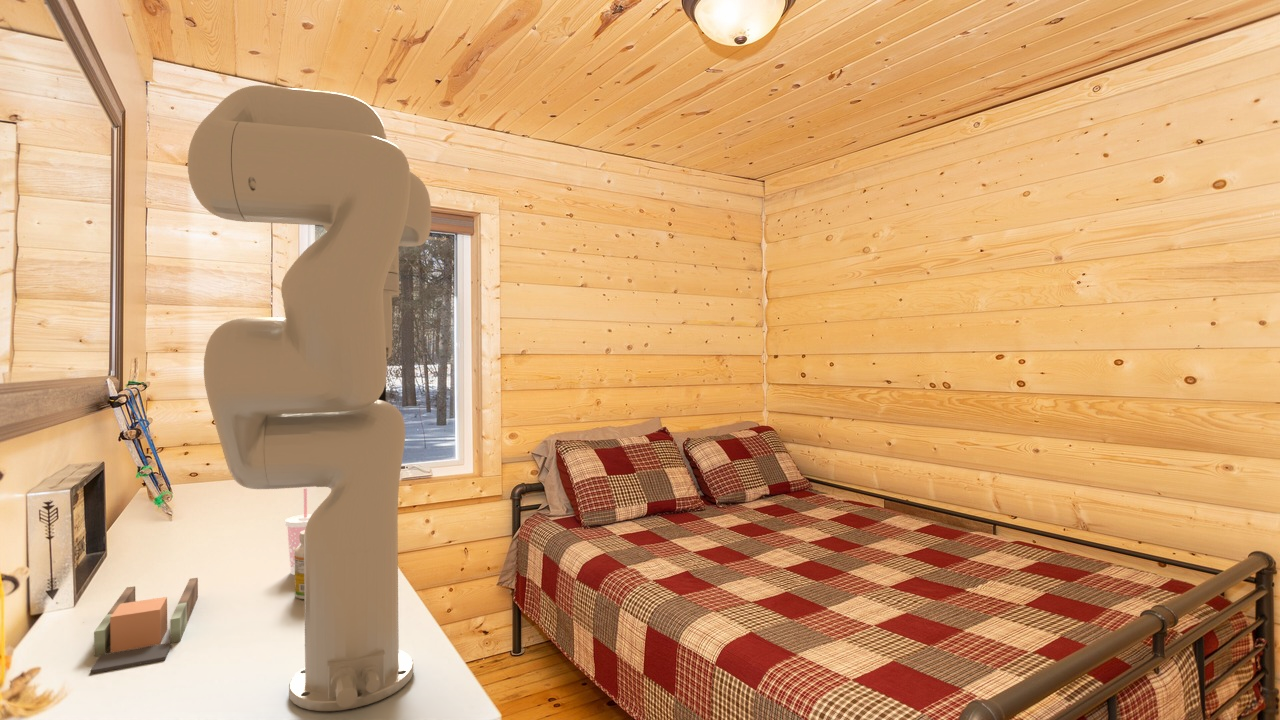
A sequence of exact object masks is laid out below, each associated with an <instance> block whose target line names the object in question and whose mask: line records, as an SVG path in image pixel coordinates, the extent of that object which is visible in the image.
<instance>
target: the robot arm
mask: <svg viewBox="0 0 1280 720" xmlns="http://www.w3.org/2000/svg"><path fill="white" fill-rule="evenodd" d="M187 153H188V154H187V173H188V181H189V183H190V186H191V189H192V191H193V193H194V195H195V198H196V199H197V200H198V202H199V203H200V204H201V206H203V208H204V209H205V210H207V211H208V212H209V213H210V214H212V215H213V216H216V217H218V218H220V219H223V220H227V221H228V220H229V221H234V222H242V223H243V222H244V223H247V222H248V223H265V224H266V223H268V224H285V225H303V226H304V225H305V226H306V225H308V226H323V228H324V231H326V232H325V233H324V234H322V236H320V237H319V238H318V239H316V240H315V241H314V242H312V244H310V245H309V246H308V247H307V248H306V249H305V250H304V251H303V252H302V253H301V254H300V255H299V256H298V257H297V258H296V259H295V261H294V262H293V264H292V265H291V266H290V267H289V269H288V270H287V272H286V273H285V274H284V277H283V279H282V282H281V286H280V290H281V299H282V302H283V303H282V304H283V309H284V314H285V315H284V316H285V317H243V318H237V319H232V320H229V321H226V322H224V323H223V324H221V325H219V326H218V327H217V328H216V329H215V330H213V332H212V333H211V335H210V337H209V339H208V341H207V344H206V347H205V352H204V358H203V379H204V387H205V390H206V396H207V402H208V404H209V407H210V411H211V415H212V417H213V420H214V425H215V428H216V431H217V432H216V433H217V435H218V438H219V441H220V445H221V449H222V453H223V455H224V459H225V462H226V465H227V466H226V467H227V468H228V470H229V473H230V474H231V477H232V478H233V480H234V482H236V483H237V484H238V485H240V486H241V487H244V488H246V489H249V490H250V489H251V490H282V489H295V488H297V489H299V488H312V487H313V488H315V487H316V488H329V489H330V493H329V494H328V496H327V497H326V498H325V499H324V500H323V501H322V502H321V503H320V504H319V506H317V508H316V509H315V510H314V511H313V513H311V514H312V515H311V517H310V519H309V520H308V523H307V525H306V528H305V533H304V593H305V599H304V667H303V668H301V669H300V670H299V671H297V672H296V673H295V674H294V676H293V677H292V678H291V679H290V682H289V685H288V689H289V690H288V691H289V692H288V695H289V696H288V697H289V699H290V701H291V702H292V703H293V704H294V705H296V706H298V707H300V708H302V709H305V710H309V711H314V712H315V711H316V712H336V711H338V712H339V711H346V710H350V709H355V708H359V707H363V706H369V705H370V704H374V703H376V702H379V701H382V700H383V699H386V698H387V697H390V696H392V695H394V694H395V693H397V692H399V691H400V690H401V689H402V688H403V687H405V686H406V685H407V684H408V682H409V681H411V679H412V677H413V674H414V660H413V658H412V657H411V655H409V654H408V653H406V652H405V651H403V650H400V649H399V647H400V646H399V645H400V644H399V643H400V642H399V641H400V640H399V637H400V636H399V554H398V553H399V552H398V551H399V549H398V544H399V539H398V538H399V537H398V536H399V535H398V534H399V533H398V531H399V529H398V528H399V526H398V525H399V522H398V518H399V517H398V516H399V492H400V491H399V490H400V481H401V480H400V479H401V470H402V464H403V459H404V458H403V456H404V450H405V443H406V426H405V425H406V423H405V419H404V417H403V414H402V412H401V411H400V410H399V409H398V407H396V406H395V405H393V404H392V403H390V402H389V401H387V397H386V396H387V395H386V393H387V391H386V387H387V385H386V384H387V375H388V374H387V373H388V363H387V362H388V361H387V360H388V359H390V358H391V357H392V353H393V351H392V350H393V302H392V301H393V300H392V298H399V297H400V276H399V275H400V261H399V260H400V259H399V258H400V257H399V255H400V253H399V247H408V248H409V247H411V248H412V247H418V246H422V245H423V244H425V243H426V242H427V241H428V238H429V236H430V233H431V229H432V207H431V206H432V204H431V199H430V193H429V191H428V188H427V187H426V185H425V183H424V182H423V180H422V179H421V178H420V177H418V175H416V174H414V173H413V172H412V171H410V165H409V164H410V163H409V162H408V158H407V157H406V155H405V153H404V151H402V149H400V148H399V147H398V146H397V145H396V144H394V143H392V142H390V141H388V140H387V134H386V129H385V126H384V124H383V121H382V120H381V117H380V115H378V113H377V112H376V111H375V110H374V109H373V108H372V107H371V106H370V105H369V104H367V103H366V102H364V101H363V100H361V99H359V98H357V97H354V96H351V95H347V94H343V93H337V92H333V91H331V92H330V91H321V90H312V89H311V90H310V89H301V88H293V87H292V88H291V87H285V86H284V87H282V86H273V85H262V84H261V85H260V84H259V85H249V86H246V87H245V86H244V87H242V88H240V89H239V88H238V89H237V90H235V91H233V92H231V93H230V94H229V95H228V96H226V97H225V98H224V99H223V100H221V102H220V103H218V105H216V107H215V108H214V109H213V110H212V111H211V112H210V113H209V114H208V115H207V116H206V117H205V118H204V119H203V120H202V121H201V122H200V123H199V125H198V127H197V128H196V129H195V132H194V133H193V135H192V138H191V141H190V144H189V148H188V152H187Z"/></svg>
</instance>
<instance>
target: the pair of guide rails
mask: <svg viewBox="0 0 1280 720" xmlns="http://www.w3.org/2000/svg"><path fill="white" fill-rule="evenodd" d="M198 579H199V578H198V577H193V578H189V580H188V581H187V584H186V586H185V588H184V590H183V591H182V595H181V596H180V599H179V600H178V603H177V605H176V607H175V608H174V611H173V613H172V615H171V617H170V619H169V620H170V623H169V624H170V643H171V644H172V643H178V642H181V640H182V638H183V636H184V632H185V630H186V628H187V625H188V623H189V620H190V618H191V615H192V613H193V610H194V609H195V605H196V603H197V600H198V597H199V584H198V582H199V581H198ZM135 601H136V586H135V585H134V586H127V587H126V588H125V589H124V590H123V592H122V594H120V596H119V597H118V599H117V600H116V601H115V602H114V604H113V605H112V606H111V608H110V609H109V611H108V612H107V614H106V615H105V616H104V618H103V619H102V621H101V622H100V623H99V625H98V626H97V627H96V629H95V630H94V632H93V641H94V642H93V644H94V645H93V646H94V648H93V649H94V652H93V653H94V655H93V656H94V657H100V655H102V654H107V652H108V650H109V649H110V648H111V636H110V617H111V615H112V614H113V613H114V611H115V610H116V609H117V607H118V606H119V605H120V604H122V603H129V602H135Z"/></svg>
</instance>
